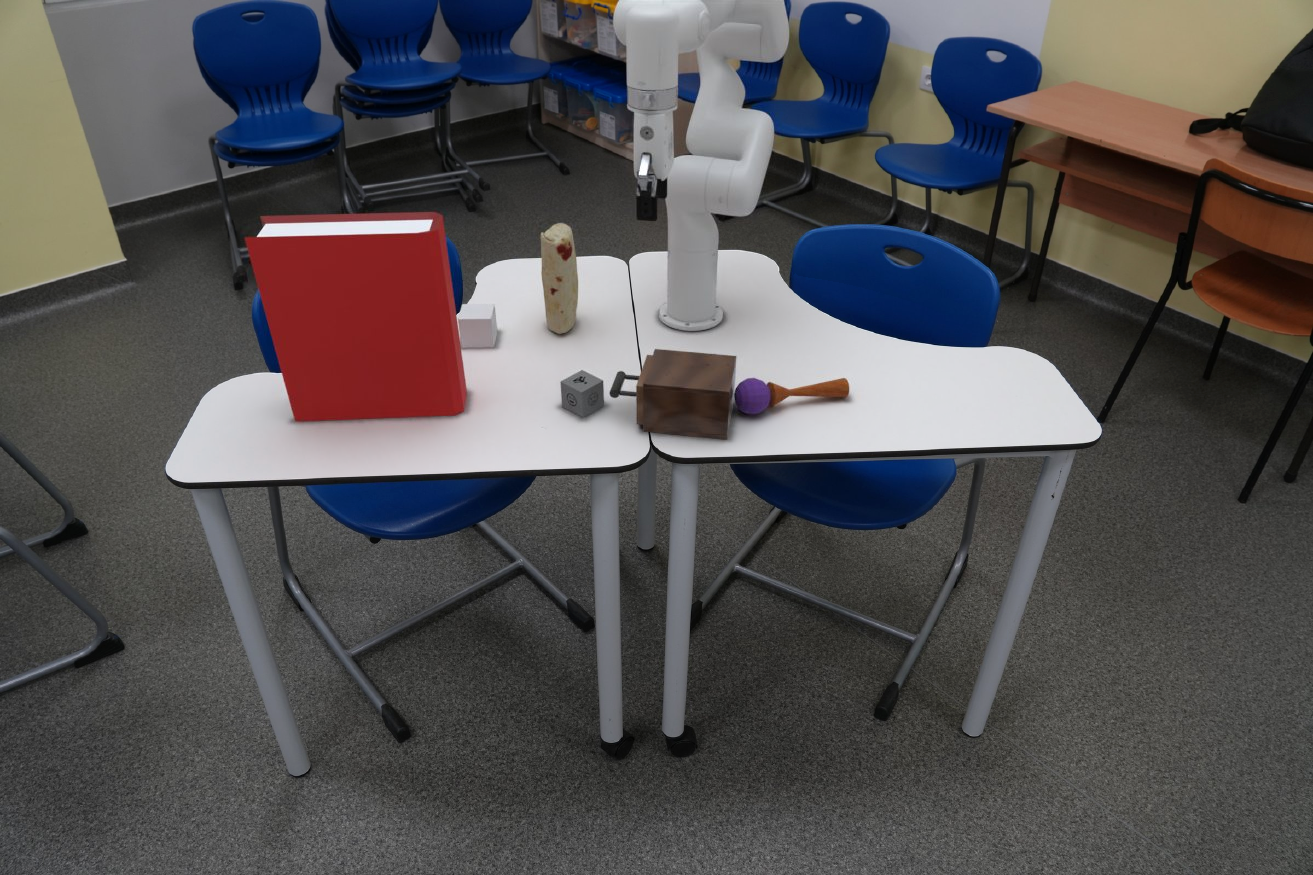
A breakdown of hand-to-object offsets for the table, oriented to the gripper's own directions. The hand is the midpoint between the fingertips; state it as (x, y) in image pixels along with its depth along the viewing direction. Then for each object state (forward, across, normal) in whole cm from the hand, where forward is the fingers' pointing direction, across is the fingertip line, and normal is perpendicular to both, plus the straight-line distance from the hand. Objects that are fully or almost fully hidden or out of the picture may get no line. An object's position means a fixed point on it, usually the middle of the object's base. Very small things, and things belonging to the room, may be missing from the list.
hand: (652, 208), depth 144 cm
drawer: (+29, -13, -4) cm, 32 cm away
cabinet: (+30, -13, -8) cm, 34 cm away
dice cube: (+31, -13, +10) cm, 35 cm away
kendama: (+31, -7, -25) cm, 40 cm away
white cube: (+31, +6, +34) cm, 46 cm away
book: (+31, -18, +43) cm, 56 cm away
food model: (+31, +14, +20) cm, 39 cm away
